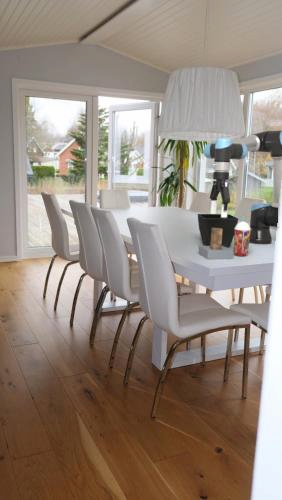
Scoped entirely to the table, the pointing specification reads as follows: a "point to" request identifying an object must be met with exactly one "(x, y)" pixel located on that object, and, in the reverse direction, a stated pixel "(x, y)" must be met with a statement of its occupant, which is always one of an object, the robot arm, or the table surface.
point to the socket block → (215, 253)
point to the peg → (216, 238)
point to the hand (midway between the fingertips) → (218, 215)
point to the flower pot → (217, 221)
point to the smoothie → (241, 238)
